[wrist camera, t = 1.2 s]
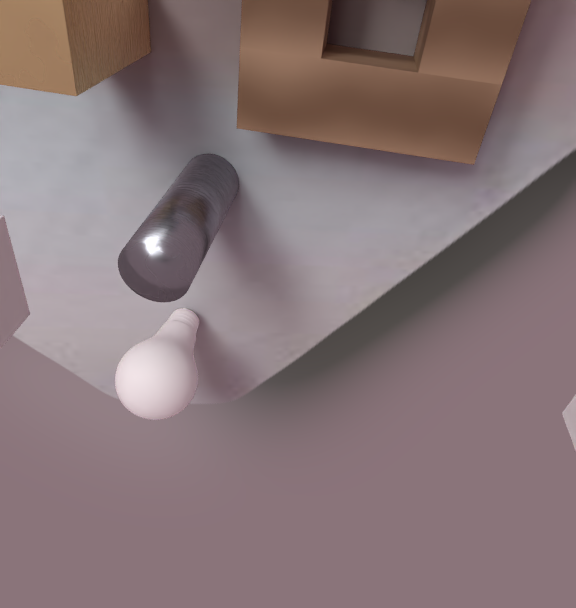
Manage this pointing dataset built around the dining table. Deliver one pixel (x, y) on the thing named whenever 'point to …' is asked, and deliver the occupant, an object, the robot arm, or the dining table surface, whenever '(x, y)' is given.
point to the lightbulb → (161, 369)
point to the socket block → (377, 77)
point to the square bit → (70, 42)
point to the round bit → (179, 230)
